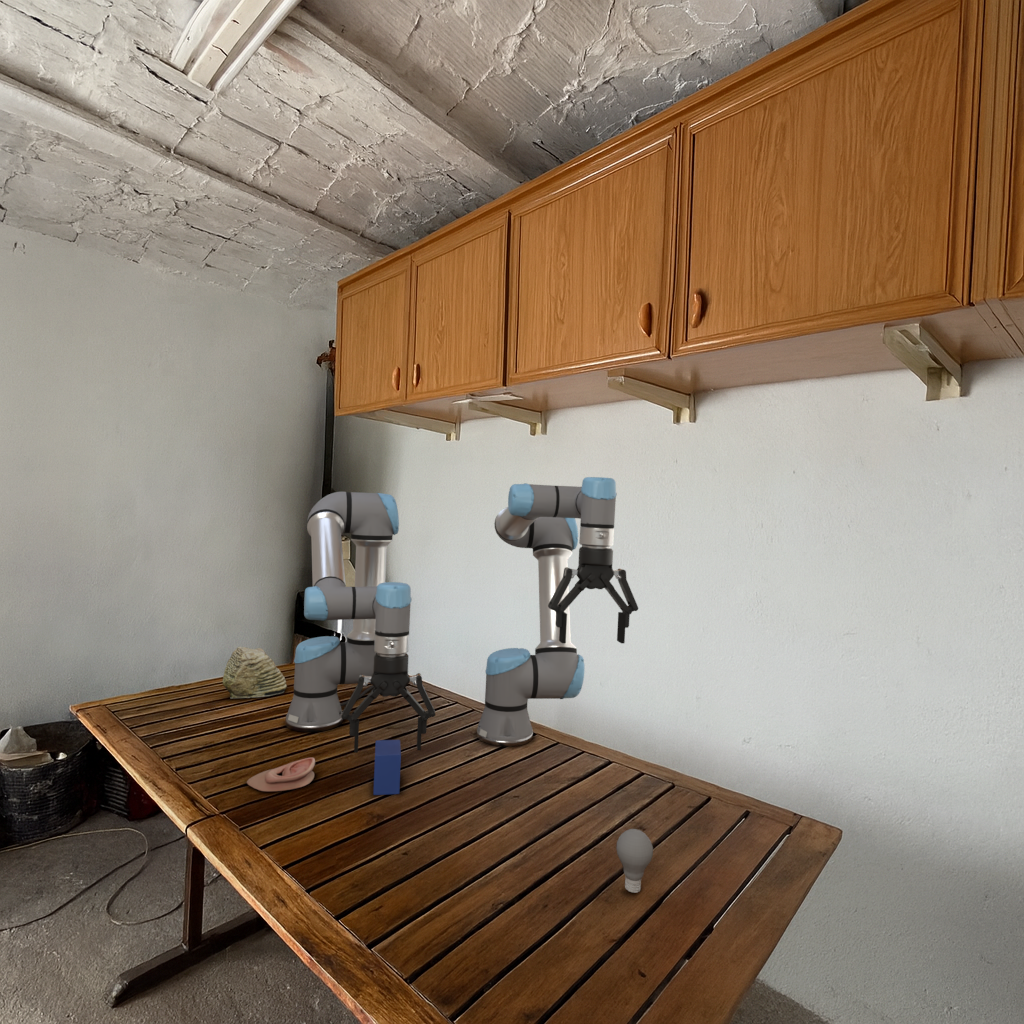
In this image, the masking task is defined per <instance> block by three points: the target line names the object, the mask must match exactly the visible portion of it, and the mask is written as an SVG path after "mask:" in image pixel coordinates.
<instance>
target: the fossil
mask: <svg viewBox="0 0 1024 1024" xmlns="http://www.w3.org/2000/svg"><path fill="white" fill-rule="evenodd" d="M222 676H223V677H222V685H223V687H224V688H225V690H226V691H228V693H229V698H230V699H250V698H264V697H271V696H275V695H281V694H284V693H285V691H286V689H287V687H288V686H287V680H286V678H285V676H284V674H283V673H282V672H281V669H279V668H278V667H277V665H276V663H275V662H274V660H273V659H272V658H271V657H270V656H269V655H268V654H267V653H266V652H265V650H264V649H263V648H260V647H258V648H251V647H247V646H246V647H245V646H238V647H237V648H236V649H235V650H233V651H232V653H231V656H230V657H229V659H228V660H227V663H226V666H225V668H224V671H223V675H222Z"/></svg>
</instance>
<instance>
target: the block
mask: <svg viewBox="0 0 1024 1024" xmlns="http://www.w3.org/2000/svg"><path fill="white" fill-rule="evenodd" d="M401 747H402V746H401V739H378V740H375V748H374V771H373V772H374V773H373V796H384V795H400V787H401V765H402V763H401V762H402V748H401Z"/></svg>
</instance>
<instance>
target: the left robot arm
mask: <svg viewBox="0 0 1024 1024" xmlns="http://www.w3.org/2000/svg"><path fill="white" fill-rule="evenodd" d="M306 520H307V522H306V528H307V529H306V530H307V533H308V535H309V536H310V537H311V571H312V573H311V574H312V575H311V576H312V586H308V587H306V588H305V590H304V599H303V600H304V601H303V606H304V607H303V609H304V610H303V615H304V618H305V619H306V620H308V621H322V622H323V621H342V620H344V621H345V620H352V630H350V632H348V633H347V635H346V641H341V640H340V638H339V637H338V636H335V635H331V636H329V635H325V636H317V637H311V638H308V639H306V640H303V641H301V642H299V643H298V644H297V645H296V648H295V655H294V660H293V663H294V680H293V695H292V696H293V697H292V699H291V702H290V704H289V708H288V711H287V713H286V715H285V726H286V728H287V729H289V730H291V731H294V732H295V731H296V732H301V733H316V732H325V731H329V730H332V729H335V728H337V727H339V726H340V725H342V723H343V722H344V720H346V721H348V722H349V730H348V731H349V737H354V745H353V753H355V754H357V753H359V736H360V735H359V734H360V718H359V717H360V716H361V715H362V714H363V713H364V712H365V710H367V708H368V707H369V706H370V705H371V704H372V702H373V701H374V700H376V699H377V698H378V697H379V696H382V697H383V698H387V697H398V696H402V697H403V699H405V700H406V702H407V703H408V704H409V705H410V706H411V708H412V709H413V710H414V712H415V713H416V714H417V715H418V717H417V732H416V735H417V736H416V750H417V751H421V750H422V735H426V734H427V731H428V730H427V729H428V720H429V719H430V718H435V717H436V710H435V708H434V705H433V704H432V701H431V699H430V697H429V695H428V693H427V691H426V689H425V687H424V684H423V678H422V674H421V673H419V672H418V673H416V674H413V675H409V654H408V652H409V650H410V626H411V625H410V623H411V621H410V620H411V606H412V605H411V603H412V597H411V596H412V595H411V594H412V593H411V592H412V591H411V590H412V589H411V586H410V585H409V584H408V583H406V582H399V581H397V582H396V581H388V582H387V581H386V576H387V553H388V552H387V550H388V549H387V548H388V545H390V544H391V543H392V542H393V537H394V536H395V535H397V534H398V533H399V527H400V518H399V510H398V504H397V501H396V499H395V497H394V496H393V495H392V494H389V493H382V492H358V491H357V492H355V491H353V492H352V491H336V492H335V491H334V492H332V493H330V494H326V495H325V496H324V497H322V498H321V499H320V500H318V501H317V502H316V503H315V504H314V505H313V507H312V508H311V509H310V511H309V513H308V517H307V519H306ZM343 534H350V541H351V542H352V543H353V544H354V545H355V563H354V564H355V567H354V586H347V583H346V574H345V573H346V572H345V563H344V561H345V560H344V551H343V539H342V535H343ZM393 535H394V536H393ZM410 682H411V683H412V684H413V686H416V688H417V690H418V692H419V695H420V697H421V700H422V702H423V703H424V705H425V707H426V710H425V709H424V708H423V707H422V706H421V704H420V703H419V702H418V701H417V699H415V697H414V696H413V695H412V693H411V692H410V691H409V689H408V688H407V686H408V685H409V683H410ZM368 684H371V685H370V686H369V687H367V686H368ZM338 685H356V687H355V689H354V691H353V692H352V694H351V695H350V698H349V699H348V700H346V701H343V702H340V699H339V695H338ZM364 687H367V688H366V689H364ZM363 689H364V691H363ZM368 692H369V694H368V695H367V696H366V697H365V698H364V699H363V700H362V701H361V702H360V704H359V705H358V706H357V707H356V708H355V709H354V710H353V707H354V706H355V704H356V702H357V700H359V699H360V698H362V697H363V696H365V695H366V693H368ZM342 707H344V709H342ZM352 710H353V711H352ZM351 711H352V712H351Z"/></svg>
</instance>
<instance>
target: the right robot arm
mask: <svg viewBox="0 0 1024 1024" xmlns="http://www.w3.org/2000/svg"><path fill="white" fill-rule="evenodd" d="M616 482H617V481H616V480H615V479H614V478H612V477H602V476H601V477H599V476H586V477H584V478H583V479H582V482H581V486H576V485H575V486H573V485H571V486H570V485H550V484H535V483H534V484H532V483H513V484H511V485H510V487H509V491H508V495H507V497H508V498H507V507H505V508H503V509H500V511H499V512H498V513H497V515H496V516H495V519H494V523H493V524H494V531H495V533H496V535H497V536H498V537H499V539H500V540H502V541H503V542H504V543H506V544H508V545H509V546H512V547H515V548H521V549H532V556H533V558H535V559H536V560H537V565H538V566H537V567H538V569H537V570H538V601H539V603H538V604H539V605H538V607H539V641H540V642H539V644H538V645H537V646H536V647H535V648H534V651H535V652H534V654H531V652H530V650H528V649H526V648H522V647H521V648H519V647H510V648H502V649H499V650H494V651H493V652H492V653H490V654H489V655H488V657H487V659H486V665H485V666H486V667H485V691H484V708H483V710H482V714H481V716H480V719H479V722H478V724H477V728H476V738H477V739H478V740H480V741H481V742H483V743H485V744H488V745H492V746H496V747H519V746H523V745H527V744H528V743H530V742H531V741H532V740H533V738H534V730H533V726H532V724H531V719H530V714H529V710H528V703H529V702H528V701H529V700H531V699H533V700H535V699H536V700H537V699H538V700H540V699H541V700H544V699H546V700H547V699H548V700H549V699H550V700H551V699H556V700H564V699H574V698H576V697H577V696H578V695H580V693H581V691H582V688H583V685H584V679H585V666H586V665H585V659H584V657H583V655H581V654H579V653H578V649H577V648H578V647H577V646H575V644H574V643H572V636H571V613H570V610H571V609H570V605H571V604H572V603H573V602H574V600H575V599H577V598H578V596H579V595H580V594H581V593H582V592H583V591H584V590H585V589H588V590H595V589H597V590H604V589H605V590H606V591H607V593H608V594H609V596H610V597H611V599H612V600H613V601H614V602H615V603H616V605H617V606H618V608H619V609H620V611H618V613H617V630H616V631H617V632H616V641H617V642H618V643H620V644H625V643H626V641H625V640H626V629H628V628H629V627H630V615H632V613H633V612H637V611H639V605H638V603H637V601H636V599H635V596H634V594H633V592H632V589H631V587H630V584H629V582H628V579H627V571H626V570H625V569H623V568H617V569H613V563H614V550H613V548H611V547H613V546H614V541H615V539H614V538H615V520H616V502H617V500H616V499H617V496H618V495H617V483H616ZM576 519H580V522H579V523H580V525H579V528H580V529H578V523H577V520H576ZM578 544H579V545H580V547H579V548H578V564H577V565H578V566H577V568H570V567H569V565H568V563H569V562H568V560H569V558H571V556H572V555H573V551H574V550H576V549H577V547H578ZM575 576H577V578H578V581H576V583H575V584H574V586H573V587H572V589H571V590H570V587H569V585H570V583H571V581H572V579H574V578H575ZM613 577H614V578H615V579H616V580H617V582H618V585H619V587H620V589H621V591H622V594H623V596H624V598H625V600H626V602H625V601H624V599H623V598H622V597H621V595H620V594H619V592H618V591H617V589H615V587H614V585H613V584H612V582H611V580H612V579H613Z"/></svg>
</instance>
